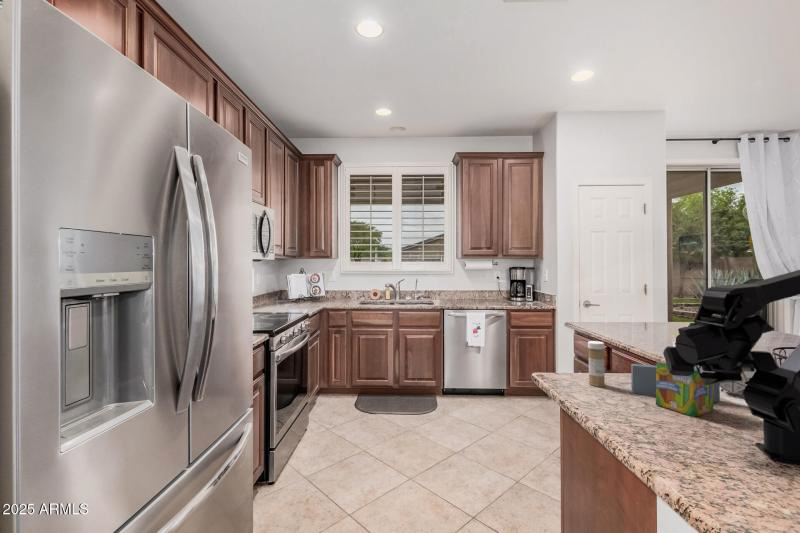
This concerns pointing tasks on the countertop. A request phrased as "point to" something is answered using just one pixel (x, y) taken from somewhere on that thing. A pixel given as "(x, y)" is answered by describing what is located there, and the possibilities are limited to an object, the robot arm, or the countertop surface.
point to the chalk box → (683, 392)
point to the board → (653, 381)
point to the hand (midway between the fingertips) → (705, 382)
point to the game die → (735, 385)
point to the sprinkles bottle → (596, 363)
